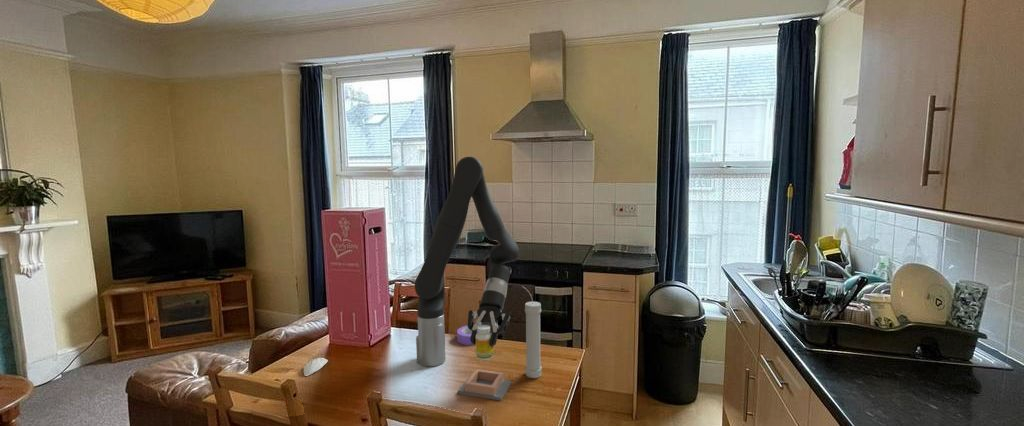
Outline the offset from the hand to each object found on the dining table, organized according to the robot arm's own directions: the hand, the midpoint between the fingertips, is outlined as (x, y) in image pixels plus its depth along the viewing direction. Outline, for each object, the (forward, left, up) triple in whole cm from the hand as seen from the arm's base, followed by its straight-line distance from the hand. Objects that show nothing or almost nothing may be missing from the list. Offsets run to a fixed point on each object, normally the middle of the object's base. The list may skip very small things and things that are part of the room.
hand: (482, 344), depth 124 cm
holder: (0, +2, -15) cm, 15 cm away
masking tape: (-19, +36, -15) cm, 44 cm away
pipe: (+12, +14, -15) cm, 24 cm away
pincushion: (-62, -2, -15) cm, 64 cm away
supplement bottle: (0, +2, -5) cm, 5 cm away
